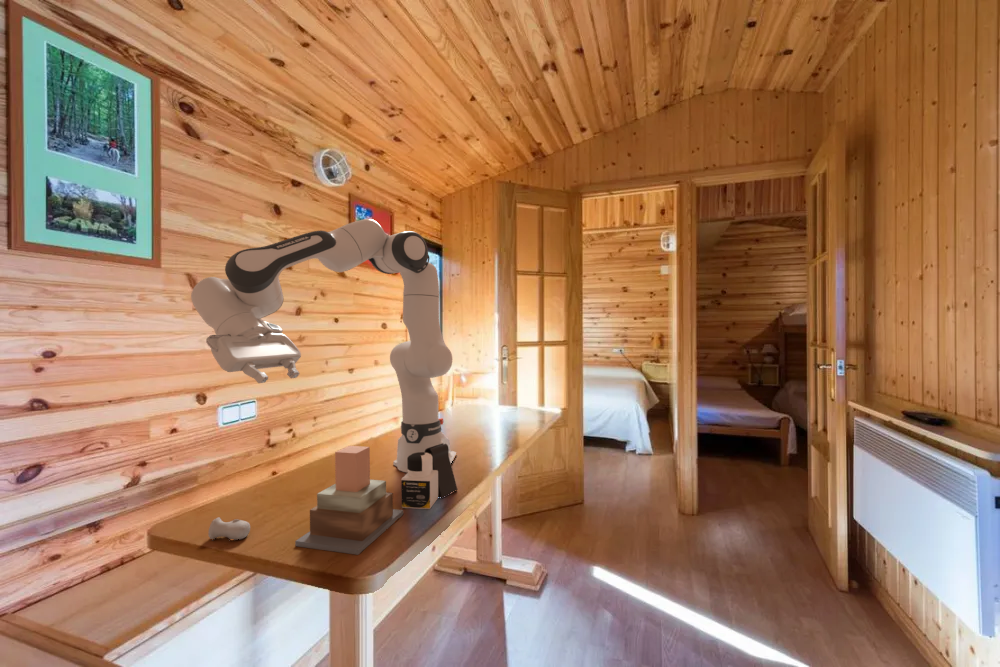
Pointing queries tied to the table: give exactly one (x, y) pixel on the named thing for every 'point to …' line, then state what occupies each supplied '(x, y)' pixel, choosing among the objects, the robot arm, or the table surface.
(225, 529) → the smooth white sculpture
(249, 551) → the table surface
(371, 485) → the brick tower
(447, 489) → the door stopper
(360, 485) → the terracotta brick
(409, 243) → the robot arm
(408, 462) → the medicine bottle
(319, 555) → the table surface
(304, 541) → the base plate
